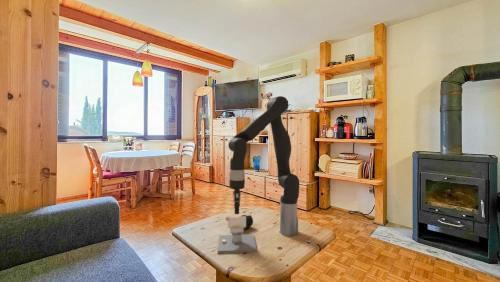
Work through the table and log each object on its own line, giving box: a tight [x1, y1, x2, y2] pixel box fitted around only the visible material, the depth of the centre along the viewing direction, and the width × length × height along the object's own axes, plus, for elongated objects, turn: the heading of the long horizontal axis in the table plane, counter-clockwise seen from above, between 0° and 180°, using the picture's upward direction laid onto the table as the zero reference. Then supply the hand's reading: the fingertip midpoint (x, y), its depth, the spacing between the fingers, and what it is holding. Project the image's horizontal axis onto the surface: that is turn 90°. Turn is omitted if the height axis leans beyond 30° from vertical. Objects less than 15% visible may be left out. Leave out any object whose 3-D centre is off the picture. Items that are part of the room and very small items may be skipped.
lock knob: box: [225, 215, 247, 235], centre depth 111 cm, size 10×7×7 cm
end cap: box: [241, 214, 254, 229], centre depth 131 cm, size 10×7×7 cm
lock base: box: [217, 233, 258, 255], centre depth 111 cm, size 18×16×6 cm
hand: (236, 210), depth 111 cm, fingers open, 8 cm apart
